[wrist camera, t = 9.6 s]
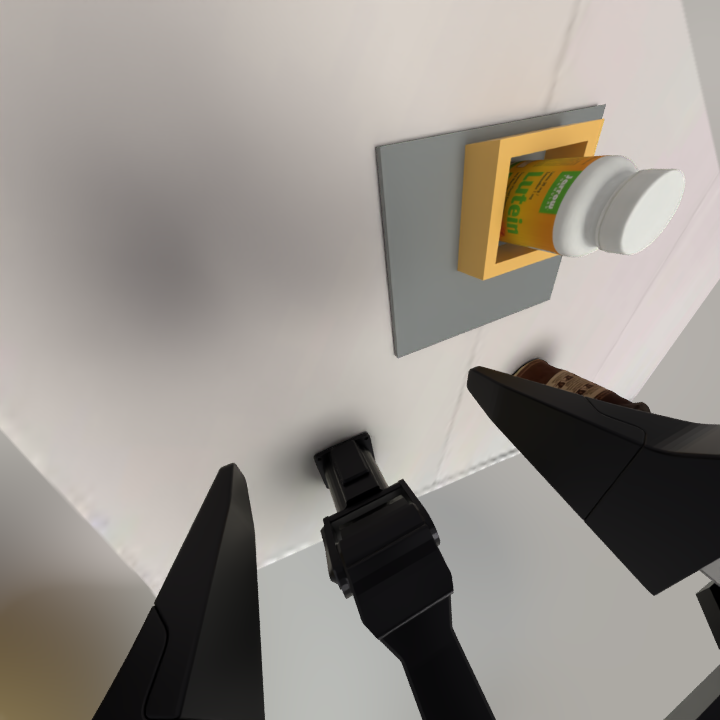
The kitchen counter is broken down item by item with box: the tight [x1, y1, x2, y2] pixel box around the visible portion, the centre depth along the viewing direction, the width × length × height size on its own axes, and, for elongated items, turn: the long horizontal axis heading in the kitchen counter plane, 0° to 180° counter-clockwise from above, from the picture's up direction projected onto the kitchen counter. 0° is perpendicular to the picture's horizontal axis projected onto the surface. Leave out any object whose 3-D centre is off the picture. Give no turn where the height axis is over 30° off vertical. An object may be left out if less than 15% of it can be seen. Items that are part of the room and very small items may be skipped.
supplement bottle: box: [499, 155, 685, 257], centre depth 18 cm, size 5×5×10 cm
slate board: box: [376, 104, 606, 358], centre depth 23 cm, size 16×19×1 cm
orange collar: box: [457, 119, 604, 280], centre depth 20 cm, size 8×8×3 cm
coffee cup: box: [513, 359, 651, 413], centre depth 33 cm, size 9×8×13 cm
